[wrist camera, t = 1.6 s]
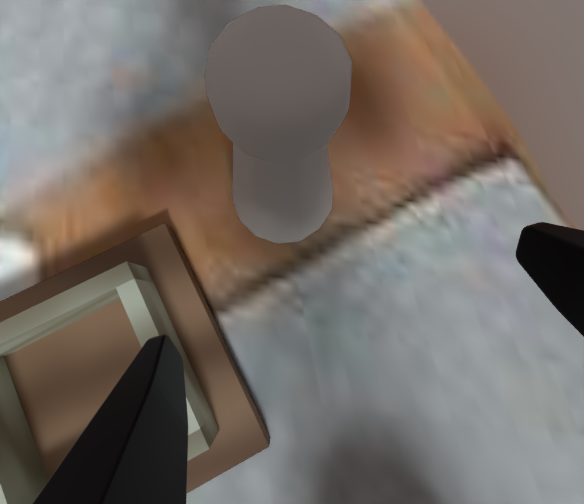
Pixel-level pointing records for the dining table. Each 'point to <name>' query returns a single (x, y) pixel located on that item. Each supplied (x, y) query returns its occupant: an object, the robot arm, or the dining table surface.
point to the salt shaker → (280, 116)
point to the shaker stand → (114, 362)
